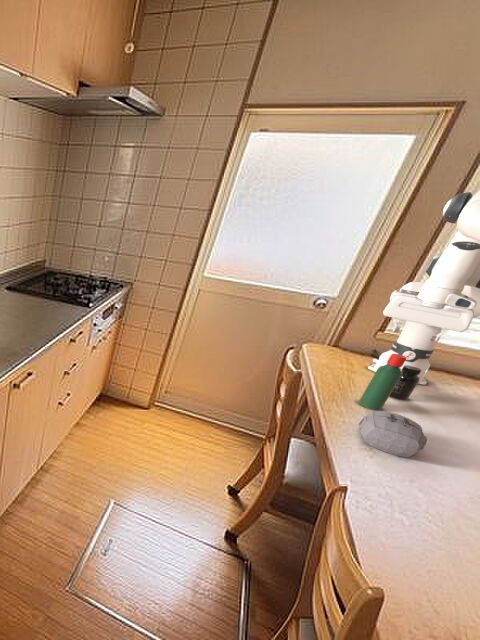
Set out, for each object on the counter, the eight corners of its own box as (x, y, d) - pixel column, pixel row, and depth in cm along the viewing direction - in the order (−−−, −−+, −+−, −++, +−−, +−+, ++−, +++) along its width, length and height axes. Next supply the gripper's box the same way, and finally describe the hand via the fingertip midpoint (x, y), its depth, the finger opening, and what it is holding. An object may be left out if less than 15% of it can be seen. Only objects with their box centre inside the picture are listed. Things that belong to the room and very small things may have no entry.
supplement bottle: (412, 401, 157) (430, 373, 151) (391, 398, 158) (409, 370, 152) (399, 393, 163) (416, 365, 157) (379, 390, 164) (396, 362, 158)
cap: (402, 365, 144) (407, 356, 142) (400, 368, 141) (406, 359, 140) (387, 361, 146) (392, 352, 145) (385, 363, 144) (390, 355, 142)
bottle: (356, 404, 152) (384, 356, 143) (360, 399, 155) (387, 352, 147) (379, 412, 147) (409, 363, 138) (382, 407, 151) (412, 359, 142)
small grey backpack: (419, 464, 119) (415, 438, 133) (436, 440, 115) (430, 415, 129) (352, 441, 128) (355, 418, 142) (366, 418, 124) (368, 397, 138)
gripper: (393, 289, 138) (372, 328, 144) (484, 305, 125) (455, 348, 131) (395, 286, 142) (374, 325, 148) (483, 302, 129) (456, 343, 135)
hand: (413, 336), depth 140 cm, fingers open, 8 cm apart
